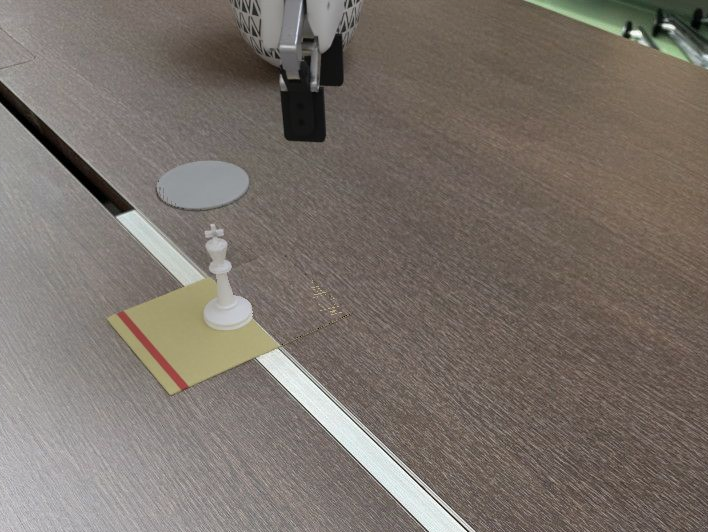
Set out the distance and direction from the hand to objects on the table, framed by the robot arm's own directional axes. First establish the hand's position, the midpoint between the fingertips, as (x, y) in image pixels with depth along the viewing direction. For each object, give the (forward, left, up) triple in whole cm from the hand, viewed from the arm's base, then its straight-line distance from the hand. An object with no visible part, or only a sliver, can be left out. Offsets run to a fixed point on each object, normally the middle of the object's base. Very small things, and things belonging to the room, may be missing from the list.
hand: (315, 110), depth 68 cm
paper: (-8, +6, -20) cm, 23 cm away
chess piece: (-8, +6, -20) cm, 23 cm away
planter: (+30, +52, -21) cm, 63 cm away
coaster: (+2, +30, -20) cm, 36 cm away
